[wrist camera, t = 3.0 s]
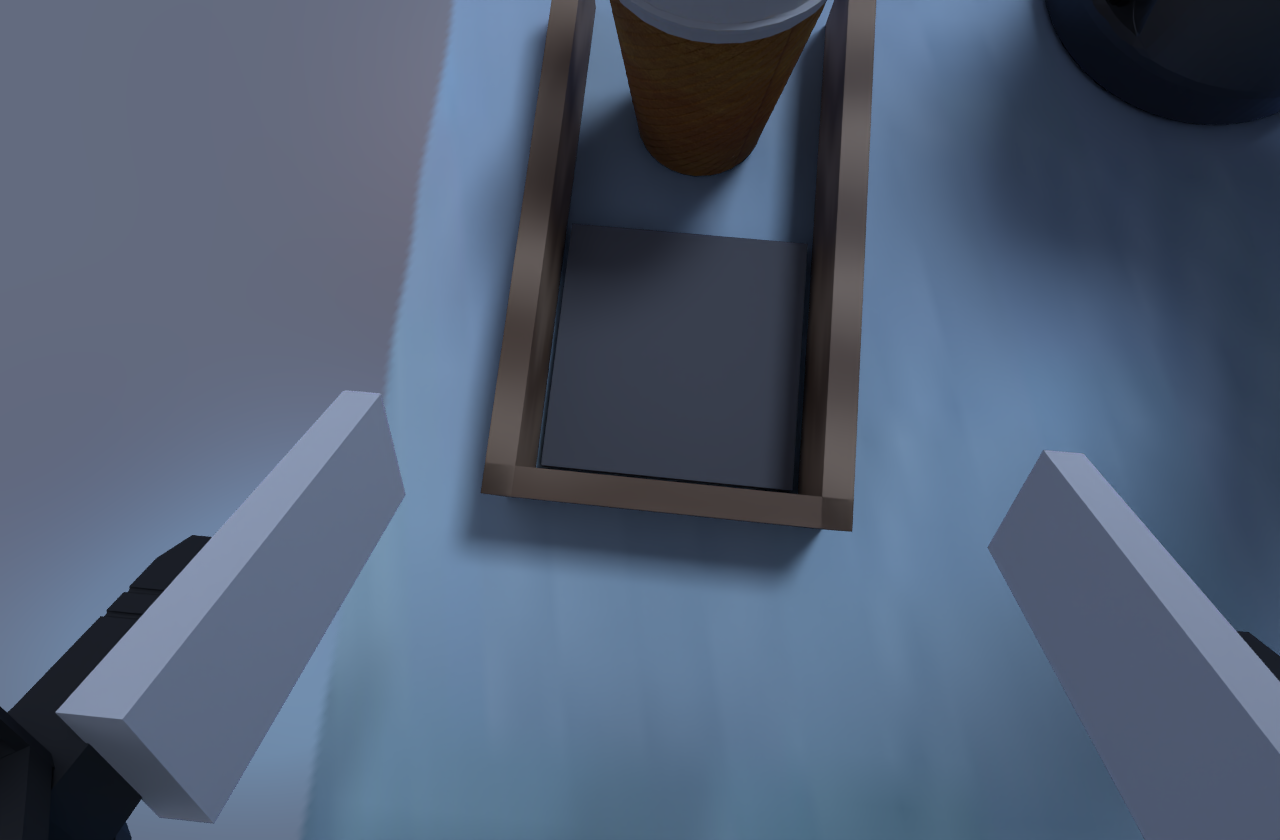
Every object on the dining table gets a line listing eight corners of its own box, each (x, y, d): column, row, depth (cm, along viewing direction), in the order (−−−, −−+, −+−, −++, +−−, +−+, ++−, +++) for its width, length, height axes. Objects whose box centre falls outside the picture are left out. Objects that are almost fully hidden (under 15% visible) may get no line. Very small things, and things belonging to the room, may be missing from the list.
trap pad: (574, 231, 29) (571, 223, 28) (803, 251, 29) (807, 243, 28) (544, 466, 27) (540, 464, 26) (788, 491, 27) (792, 490, 26)
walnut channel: (573, 6, 31) (561, -69, 27) (849, 26, 31) (878, -47, 27) (505, 496, 27) (480, 493, 23) (822, 529, 27) (852, 531, 23)
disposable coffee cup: (596, 48, 31) (560, -245, 19) (778, 26, 31) (857, -282, 19) (617, 218, 29) (592, 15, 17) (809, 194, 29) (916, -25, 17)
